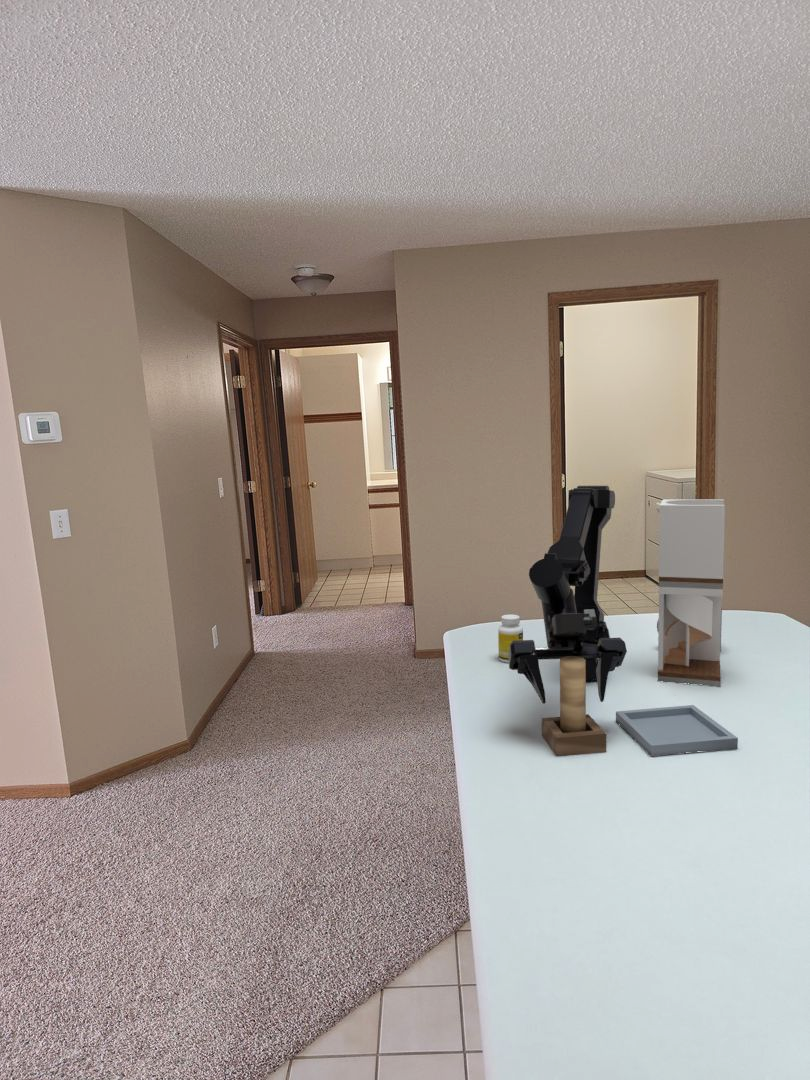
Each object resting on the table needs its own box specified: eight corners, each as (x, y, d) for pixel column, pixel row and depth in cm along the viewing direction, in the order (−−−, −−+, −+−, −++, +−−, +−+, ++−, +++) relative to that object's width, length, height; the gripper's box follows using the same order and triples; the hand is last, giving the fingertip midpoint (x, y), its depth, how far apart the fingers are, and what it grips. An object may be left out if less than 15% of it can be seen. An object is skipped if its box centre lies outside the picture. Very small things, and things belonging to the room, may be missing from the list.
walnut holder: (541, 735, 122) (541, 718, 122) (588, 731, 123) (588, 714, 123) (556, 756, 115) (556, 737, 114) (606, 751, 115) (606, 733, 115)
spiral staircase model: (657, 681, 145) (659, 505, 140) (660, 664, 155) (662, 499, 150) (720, 687, 141) (724, 505, 136) (719, 669, 151) (723, 499, 145)
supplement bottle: (522, 663, 159) (522, 620, 158) (497, 663, 160) (496, 619, 159) (524, 656, 164) (523, 613, 163) (499, 655, 165) (498, 613, 164)
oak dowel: (557, 739, 121) (556, 657, 119) (580, 737, 121) (580, 655, 119) (565, 749, 117) (564, 664, 115) (589, 747, 117) (589, 663, 115)
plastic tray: (615, 721, 127) (615, 711, 127) (693, 714, 128) (693, 705, 128) (651, 756, 113) (651, 745, 113) (737, 748, 114) (737, 738, 114)
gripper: (508, 593, 120) (518, 680, 111) (624, 589, 120) (642, 677, 110) (504, 627, 129) (513, 710, 120) (612, 624, 129) (628, 708, 119)
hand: (573, 701), depth 117 cm, fingers open, 9 cm apart
